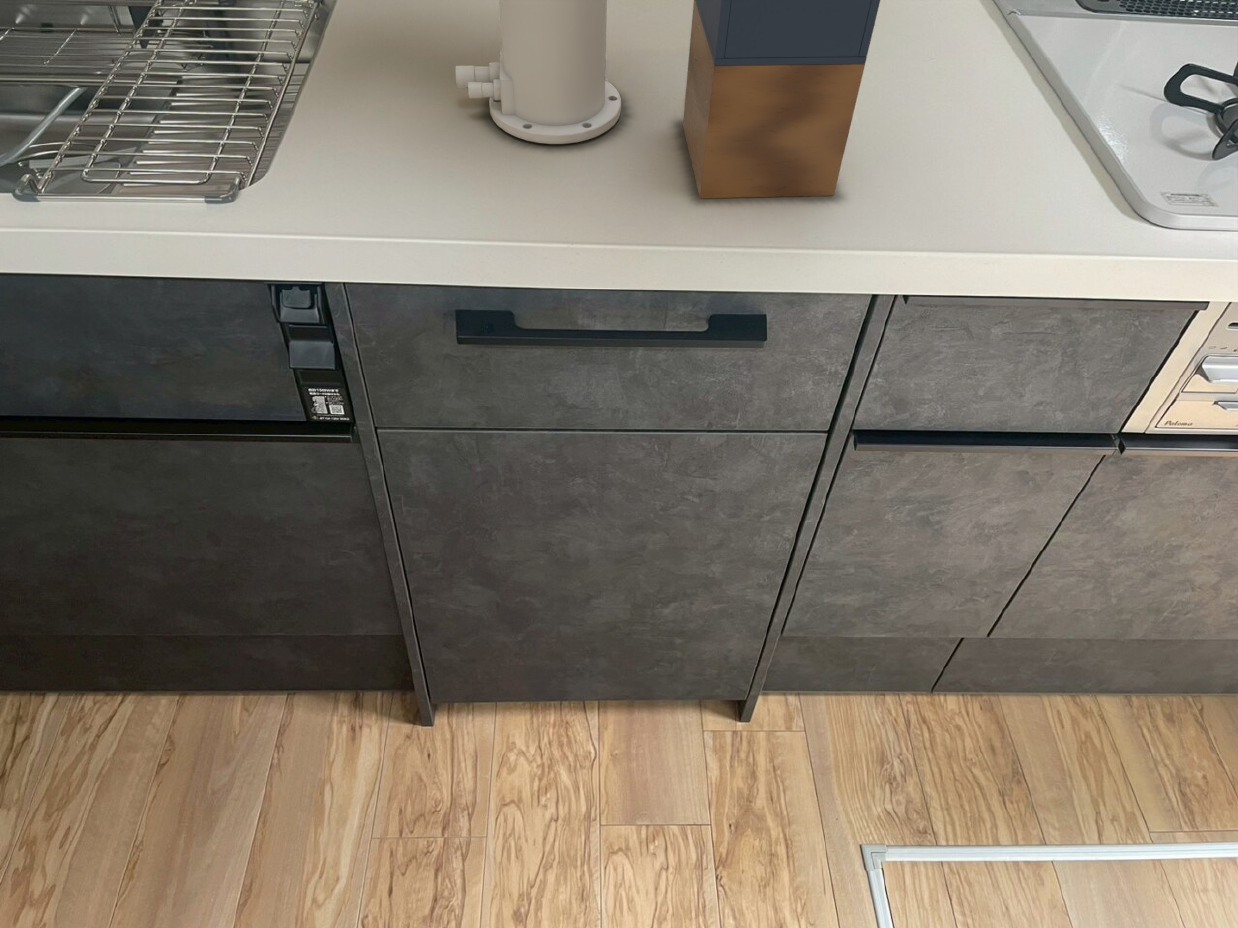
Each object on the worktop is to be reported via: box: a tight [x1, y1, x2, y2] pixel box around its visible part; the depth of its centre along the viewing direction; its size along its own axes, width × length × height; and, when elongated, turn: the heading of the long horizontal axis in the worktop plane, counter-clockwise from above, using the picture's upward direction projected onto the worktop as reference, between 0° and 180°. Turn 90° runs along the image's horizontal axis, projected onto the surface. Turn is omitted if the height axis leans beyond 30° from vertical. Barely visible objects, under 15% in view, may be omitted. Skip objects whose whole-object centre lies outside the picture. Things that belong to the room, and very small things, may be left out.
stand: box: [682, 0, 866, 199], centre depth 82 cm, size 12×12×12 cm
